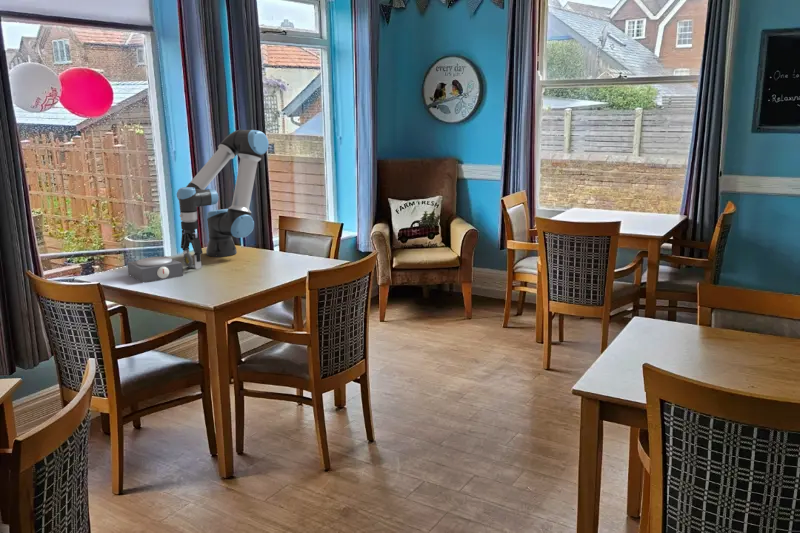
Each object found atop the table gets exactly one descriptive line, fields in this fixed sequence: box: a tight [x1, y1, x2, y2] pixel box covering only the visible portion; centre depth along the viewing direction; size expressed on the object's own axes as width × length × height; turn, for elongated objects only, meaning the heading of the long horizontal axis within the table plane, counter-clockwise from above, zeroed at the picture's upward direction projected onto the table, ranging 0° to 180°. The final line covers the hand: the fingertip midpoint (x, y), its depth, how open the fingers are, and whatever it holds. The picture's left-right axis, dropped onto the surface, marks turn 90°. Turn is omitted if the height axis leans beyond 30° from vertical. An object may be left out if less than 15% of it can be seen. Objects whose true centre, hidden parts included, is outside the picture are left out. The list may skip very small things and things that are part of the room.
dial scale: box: [127, 255, 184, 283], centre depth 305 cm, size 19×18×7 cm
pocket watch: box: [183, 248, 203, 269], centre depth 320 cm, size 8×8×10 cm
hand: (192, 265), depth 321 cm, fingers open, 12 cm apart
